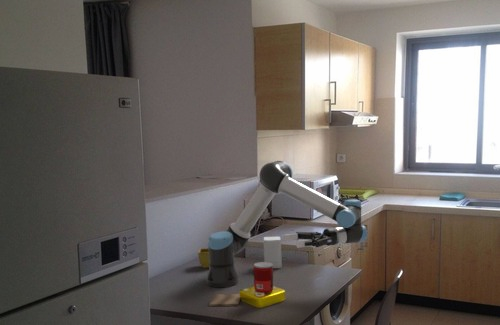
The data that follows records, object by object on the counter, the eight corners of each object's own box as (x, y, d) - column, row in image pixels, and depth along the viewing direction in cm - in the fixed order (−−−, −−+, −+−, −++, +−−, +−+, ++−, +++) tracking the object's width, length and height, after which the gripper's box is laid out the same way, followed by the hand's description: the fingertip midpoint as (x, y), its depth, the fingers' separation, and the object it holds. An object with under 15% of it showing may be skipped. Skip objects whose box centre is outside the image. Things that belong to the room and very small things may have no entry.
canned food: (275, 291, 199) (275, 265, 198) (257, 293, 197) (256, 267, 197) (270, 286, 206) (269, 261, 206) (252, 288, 205) (251, 262, 204)
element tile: (287, 300, 202) (287, 289, 202) (259, 309, 193) (259, 297, 192) (264, 292, 214) (264, 281, 213) (237, 300, 205) (237, 289, 204)
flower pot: (215, 268, 253) (214, 252, 252) (198, 269, 253) (197, 252, 253) (216, 264, 262) (216, 248, 261) (200, 264, 262) (200, 248, 261)
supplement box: (282, 268, 249) (280, 239, 248) (264, 269, 249) (263, 240, 248) (281, 263, 258) (280, 236, 257) (264, 264, 258) (263, 236, 257)
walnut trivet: (209, 305, 198) (209, 304, 198) (213, 296, 210) (213, 294, 210) (238, 305, 197) (238, 303, 197) (241, 295, 209) (241, 294, 209)
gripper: (348, 251, 202) (302, 256, 195) (320, 239, 226) (279, 243, 219) (348, 233, 202) (302, 238, 195) (320, 223, 225) (278, 227, 218)
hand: (290, 241), depth 207 cm, fingers open, 13 cm apart
